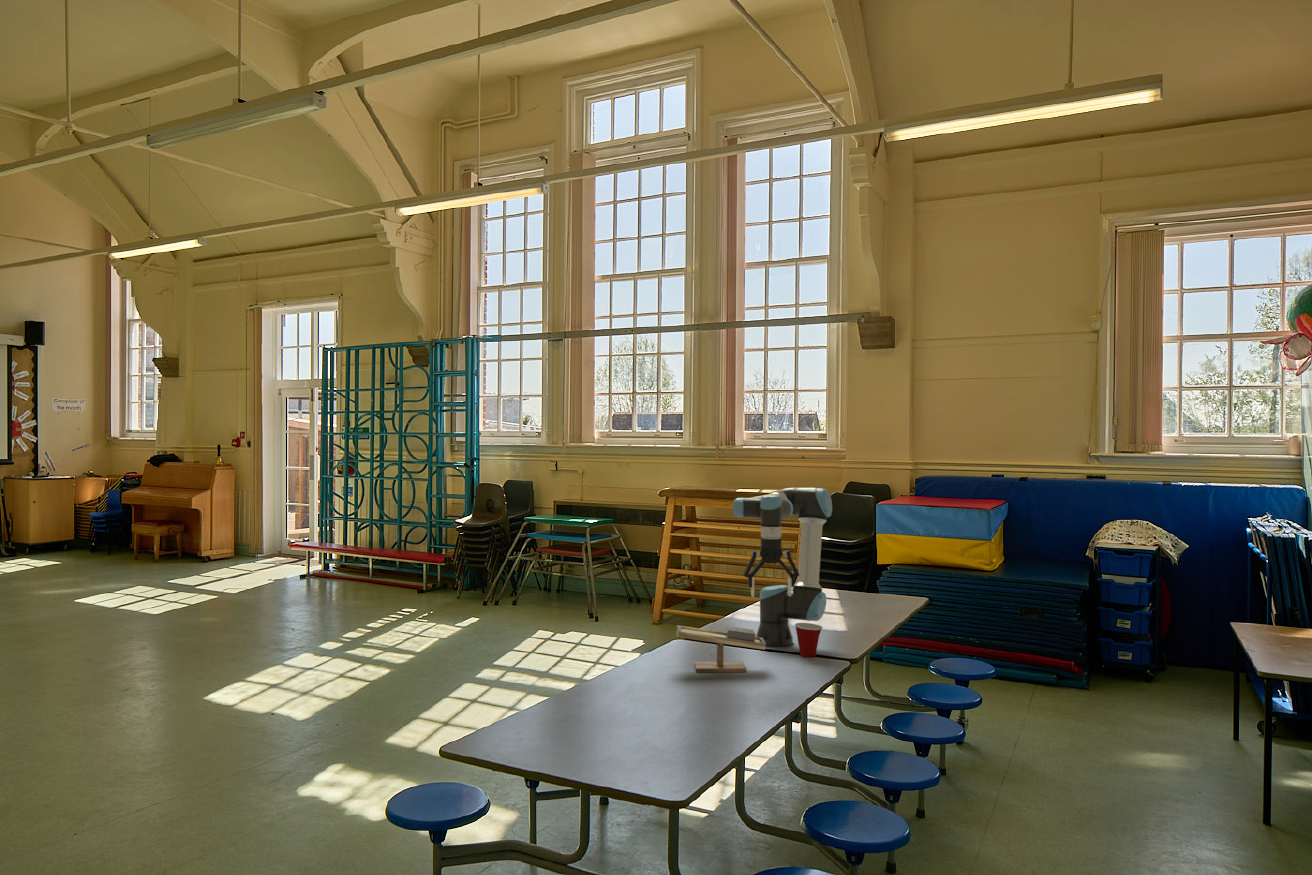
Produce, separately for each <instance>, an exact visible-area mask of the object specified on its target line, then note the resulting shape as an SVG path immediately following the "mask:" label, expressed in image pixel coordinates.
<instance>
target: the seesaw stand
mask: <svg viewBox="0 0 1312 875" xmlns="http://www.w3.org/2000/svg"><path fill="white" fill-rule="evenodd" d="M694 668H695V672H696V673H735V672H736V673H746V672H747V666H746V665H745V663H744V661H739V660H738V661H737V660H736V661H735V660H734V661H724V644H723V645H722V646H720V644H719V643H716V661H694Z"/></svg>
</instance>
